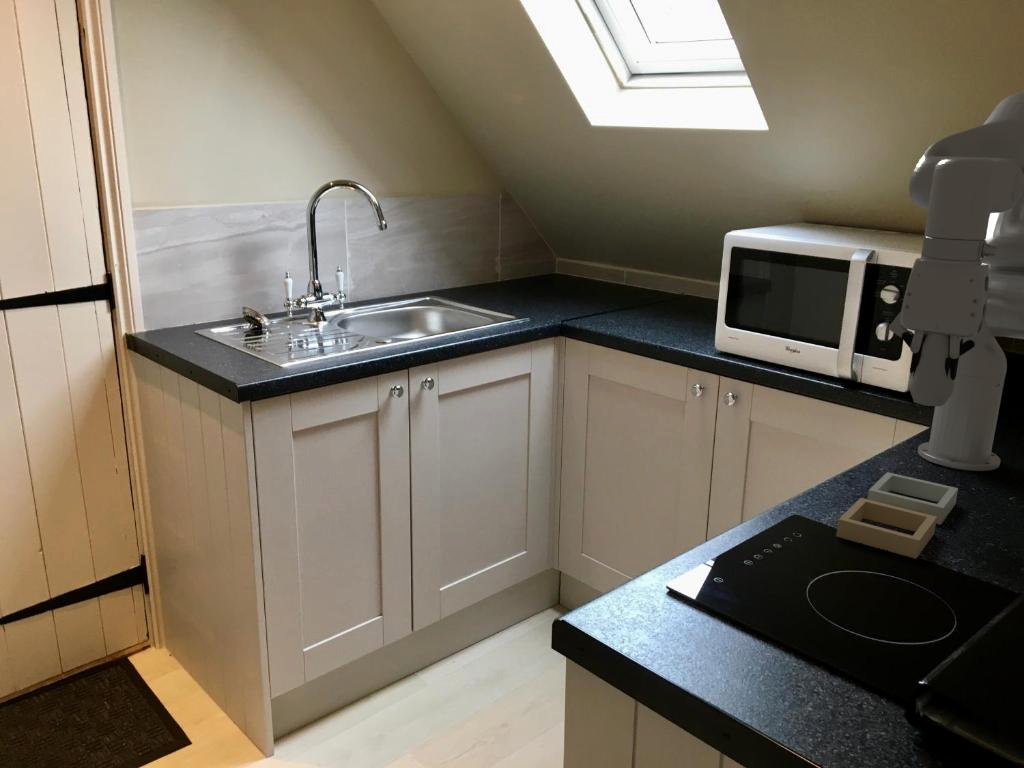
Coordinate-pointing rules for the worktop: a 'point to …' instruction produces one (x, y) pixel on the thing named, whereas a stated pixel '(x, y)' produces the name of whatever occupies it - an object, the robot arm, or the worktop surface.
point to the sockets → (898, 514)
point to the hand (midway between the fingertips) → (931, 380)
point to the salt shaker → (932, 372)
